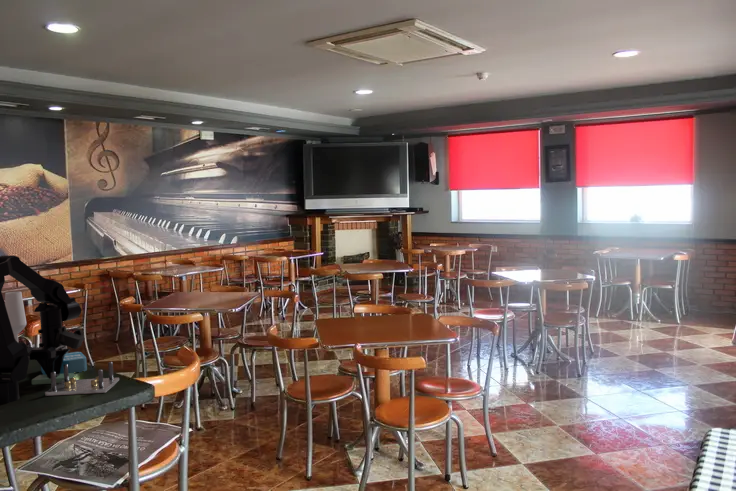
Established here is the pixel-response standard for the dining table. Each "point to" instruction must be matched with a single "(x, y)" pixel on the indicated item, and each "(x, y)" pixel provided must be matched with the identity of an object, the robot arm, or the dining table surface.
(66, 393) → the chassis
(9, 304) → the champagne flute
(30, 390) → the dining table surface
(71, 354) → the data package
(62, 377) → the board
